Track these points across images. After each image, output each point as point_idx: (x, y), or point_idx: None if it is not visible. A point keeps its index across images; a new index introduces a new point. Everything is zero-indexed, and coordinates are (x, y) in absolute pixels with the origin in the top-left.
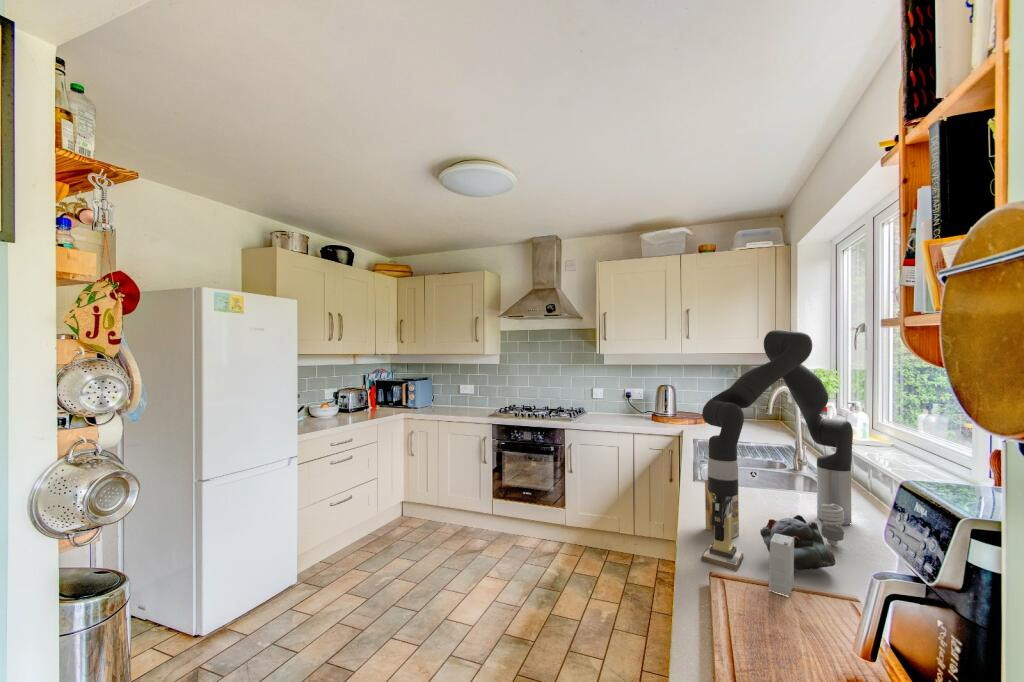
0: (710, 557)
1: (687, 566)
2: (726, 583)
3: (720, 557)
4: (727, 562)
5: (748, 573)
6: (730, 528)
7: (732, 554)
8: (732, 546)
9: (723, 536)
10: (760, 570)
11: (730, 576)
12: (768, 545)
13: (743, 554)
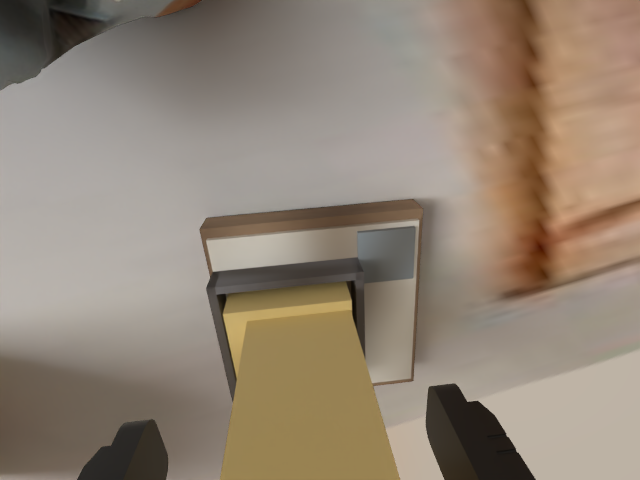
0: (412, 347)
1: (499, 380)
2: (599, 202)
3: (378, 312)
4: (416, 265)
5: (411, 137)
6: (277, 450)
7: (358, 272)
8: (268, 308)
9: (476, 419)
10: (316, 81)
11: (507, 209)
12: (38, 43)
13: (203, 227)
